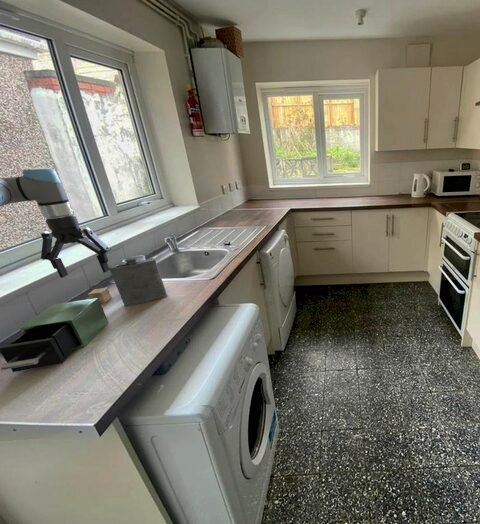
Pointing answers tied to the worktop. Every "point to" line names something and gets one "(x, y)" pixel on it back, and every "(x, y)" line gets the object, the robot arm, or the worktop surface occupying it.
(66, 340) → the fryer drawer
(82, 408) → the worktop surface
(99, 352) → the worktop surface
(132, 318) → the worktop surface
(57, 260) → the robot arm
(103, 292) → the block
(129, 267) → the flask
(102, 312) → the fryer
